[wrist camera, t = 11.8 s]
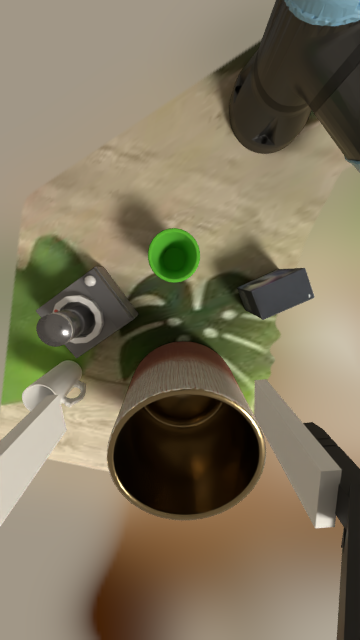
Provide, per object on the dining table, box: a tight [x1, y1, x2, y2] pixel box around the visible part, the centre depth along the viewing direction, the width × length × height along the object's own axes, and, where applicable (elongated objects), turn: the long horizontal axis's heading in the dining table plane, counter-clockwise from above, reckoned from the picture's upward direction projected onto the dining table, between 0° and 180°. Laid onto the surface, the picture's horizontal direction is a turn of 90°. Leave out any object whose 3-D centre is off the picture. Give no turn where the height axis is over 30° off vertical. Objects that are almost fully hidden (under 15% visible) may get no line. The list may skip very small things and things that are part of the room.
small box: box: [237, 268, 314, 320], centre depth 44 cm, size 11×6×10 cm, turn 115°
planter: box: [107, 341, 266, 520], centre depth 44 cm, size 25×25×22 cm
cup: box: [148, 228, 200, 282], centre depth 42 cm, size 9×9×11 cm
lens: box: [37, 306, 94, 347], centre depth 40 cm, size 6×6×10 cm
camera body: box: [36, 267, 138, 358], centre depth 46 cm, size 16×13×7 cm
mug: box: [22, 360, 86, 411], centre depth 47 cm, size 10×7×12 cm, turn 66°
